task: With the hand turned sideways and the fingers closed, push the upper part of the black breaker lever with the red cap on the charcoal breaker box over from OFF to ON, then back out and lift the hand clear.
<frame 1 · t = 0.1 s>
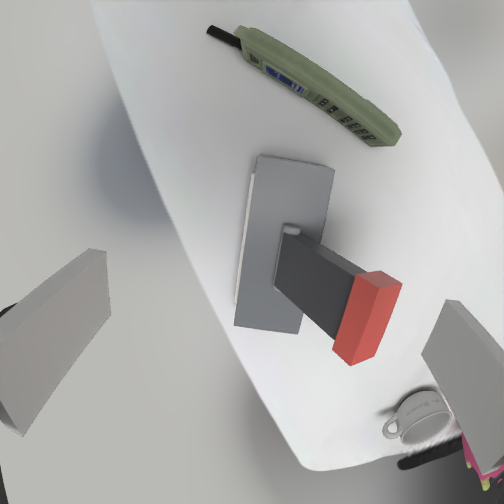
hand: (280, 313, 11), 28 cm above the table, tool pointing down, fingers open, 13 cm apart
teacup: (408, 402, 49), on the table
breaker lever: (322, 285, 27), point 12 cm above the table, hinge at -30.0°
pink dragon fruit: (476, 403, 50), on the table
breaker box: (279, 238, 39), on the table
handheld radio: (295, 80, 32), on the table
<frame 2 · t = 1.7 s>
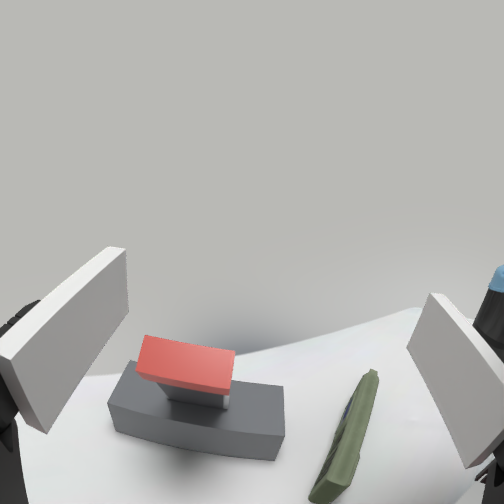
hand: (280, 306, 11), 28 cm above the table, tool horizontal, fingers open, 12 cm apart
breaker lever: (193, 384, 26), point 12 cm above the table, hinge at -30.0°
breaker box: (197, 426, 34), on the table
handheld radio: (346, 435, 35), on the table
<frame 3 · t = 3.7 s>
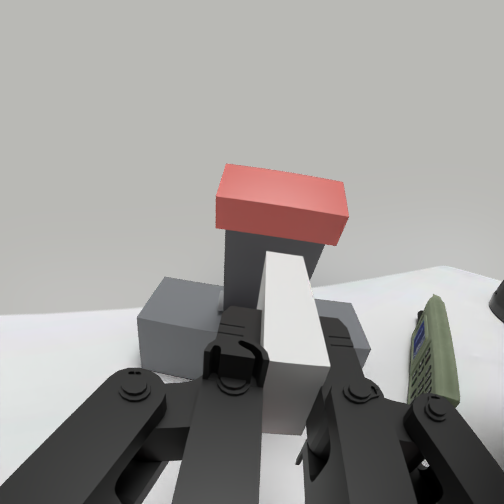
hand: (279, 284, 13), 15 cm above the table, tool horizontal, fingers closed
breaker lever: (268, 264, 22), point 12 cm above the table, hinge at -30.0°
breaker box: (249, 360, 30), on the table
handheld radio: (418, 369, 31), on the table
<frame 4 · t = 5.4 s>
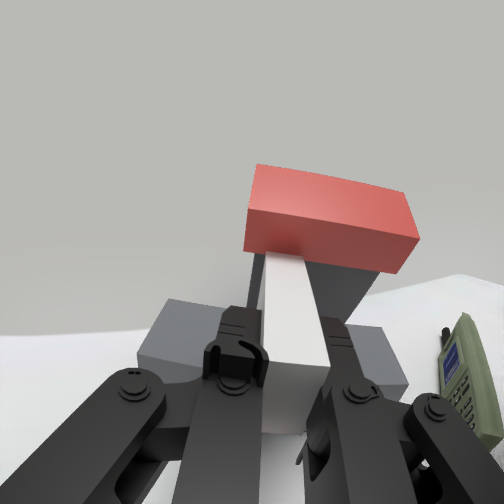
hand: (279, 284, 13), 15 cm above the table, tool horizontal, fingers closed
breaker lever: (301, 293, 17), point 12 cm above the table, hinge at -28.6°, touching gripper
breaker box: (267, 394, 25), on the table
handheld radio: (447, 394, 26), on the table
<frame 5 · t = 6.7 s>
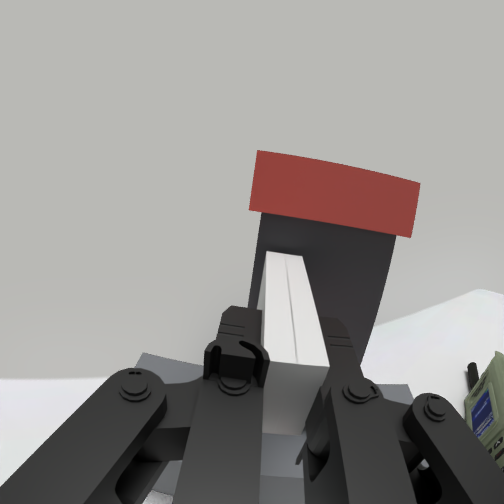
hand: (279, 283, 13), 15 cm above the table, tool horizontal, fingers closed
breaker lever: (309, 315, 14), point 13 cm above the table, hinge at 8.0°, touching gripper
breaker box: (265, 465, 18), on the table
handheld radio: (473, 446, 19), on the table
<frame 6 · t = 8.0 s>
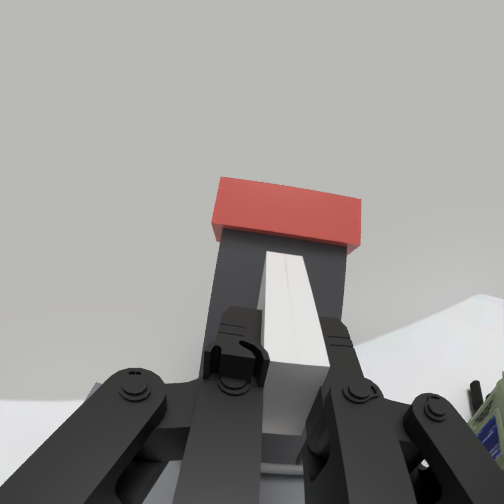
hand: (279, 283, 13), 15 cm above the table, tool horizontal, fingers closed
breaker lever: (271, 337, 14), point 12 cm above the table, hinge at 35.7°, touching breaker box, gripper
handheld radio: (476, 476, 15), on the table
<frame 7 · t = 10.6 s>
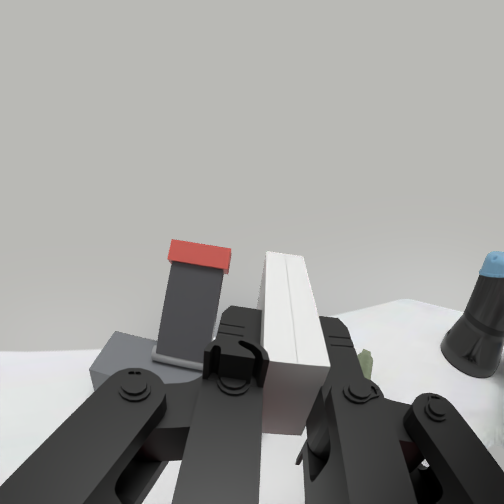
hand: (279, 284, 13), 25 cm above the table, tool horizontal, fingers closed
breaker lever: (191, 306, 34), point 12 cm above the table, hinge at 35.7°, touching breaker box
breaker box: (180, 401, 34), on the table
handheld radio: (342, 418, 35), on the table
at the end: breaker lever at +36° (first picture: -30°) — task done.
